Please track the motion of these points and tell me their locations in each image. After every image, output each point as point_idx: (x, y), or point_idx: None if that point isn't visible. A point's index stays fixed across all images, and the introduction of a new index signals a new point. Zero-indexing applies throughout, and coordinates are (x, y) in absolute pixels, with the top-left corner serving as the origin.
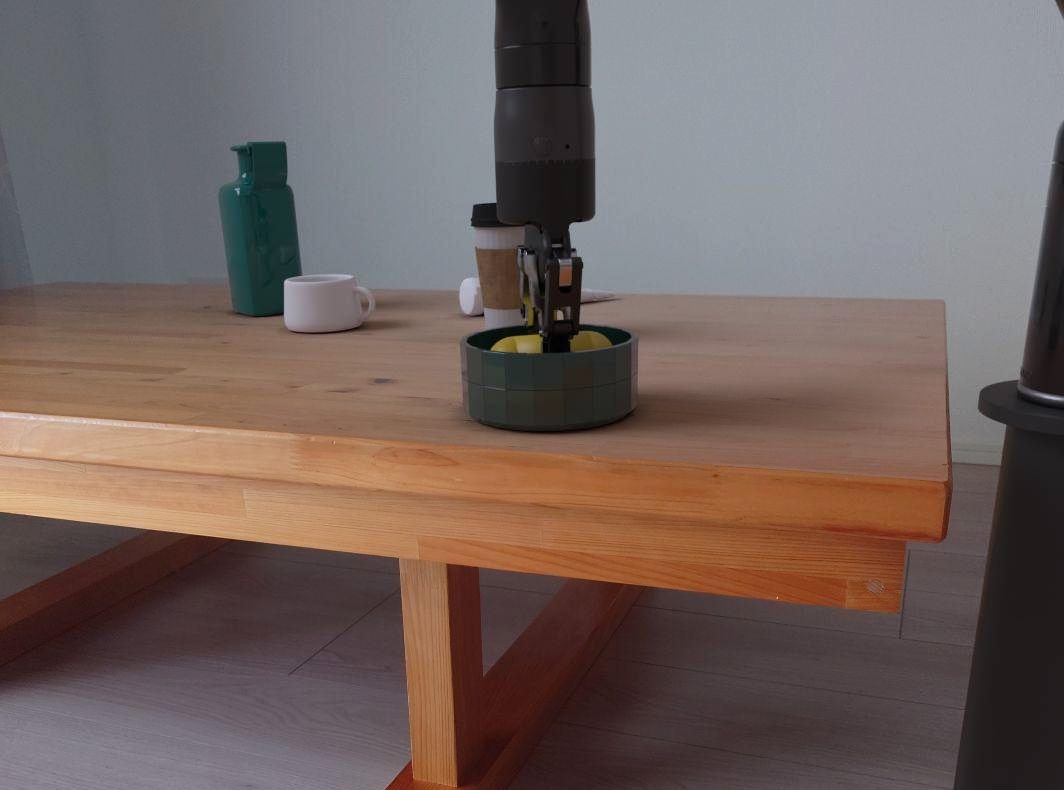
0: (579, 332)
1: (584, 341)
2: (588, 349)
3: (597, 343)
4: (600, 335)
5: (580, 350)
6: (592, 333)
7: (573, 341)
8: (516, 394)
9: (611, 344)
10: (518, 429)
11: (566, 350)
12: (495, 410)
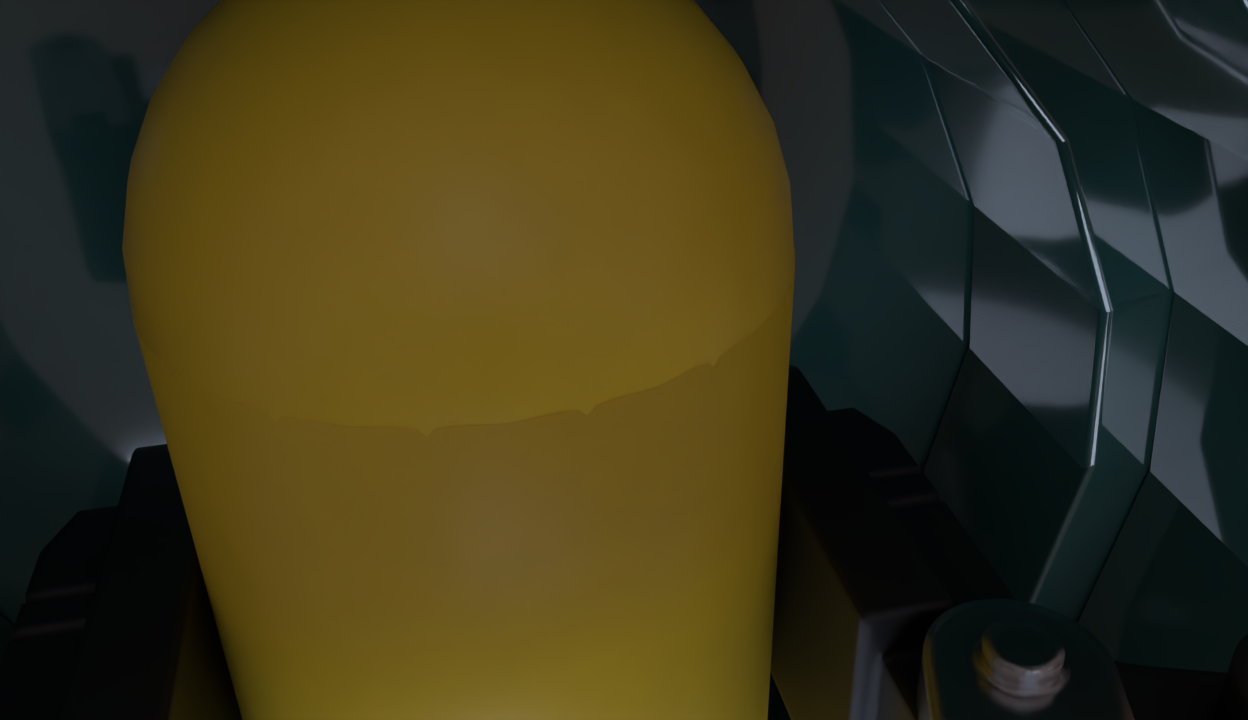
0: (548, 514)
1: (738, 426)
2: (783, 347)
3: (756, 266)
4: (613, 238)
5: (779, 424)
6: (610, 358)
7: (728, 539)
8: None
9: (585, 35)
10: None
11: (994, 586)
12: None
